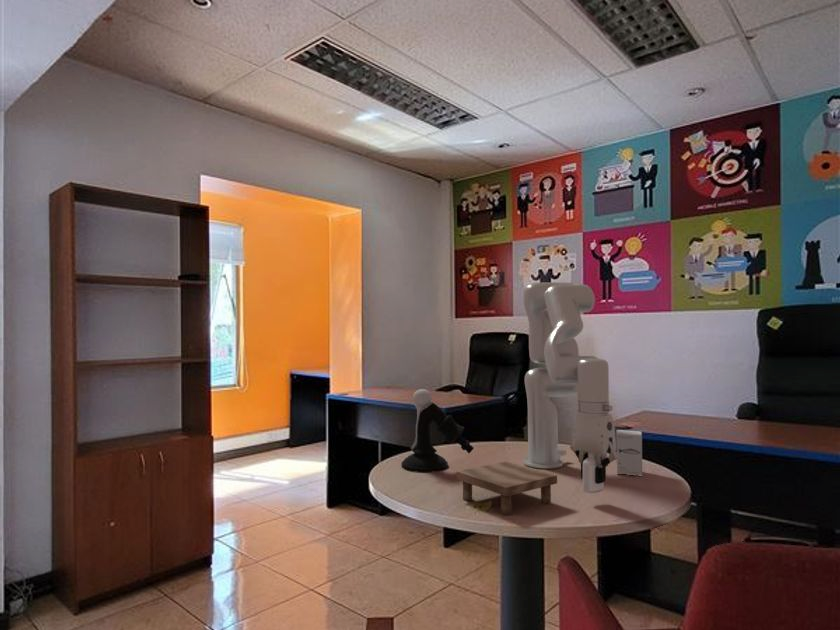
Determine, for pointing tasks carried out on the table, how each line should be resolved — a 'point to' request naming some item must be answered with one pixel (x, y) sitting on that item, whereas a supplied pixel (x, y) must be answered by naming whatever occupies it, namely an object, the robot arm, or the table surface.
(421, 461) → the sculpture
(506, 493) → the walnut stool
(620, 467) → the supplement box
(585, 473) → the eye dropper bottle
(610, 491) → the table surface
